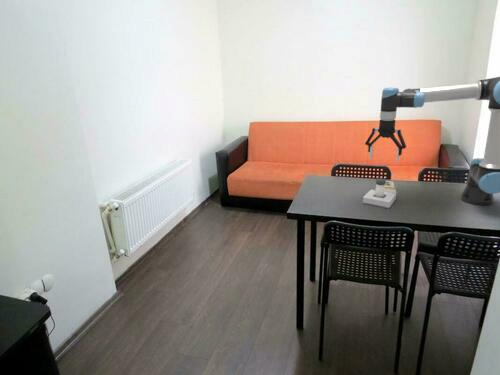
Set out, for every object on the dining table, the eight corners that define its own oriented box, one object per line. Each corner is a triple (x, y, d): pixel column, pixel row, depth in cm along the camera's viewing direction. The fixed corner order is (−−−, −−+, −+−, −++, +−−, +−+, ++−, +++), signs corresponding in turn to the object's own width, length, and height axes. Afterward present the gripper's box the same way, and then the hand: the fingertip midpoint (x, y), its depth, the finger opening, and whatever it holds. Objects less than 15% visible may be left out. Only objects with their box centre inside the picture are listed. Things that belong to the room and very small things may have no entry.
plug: (384, 199, 194) (386, 179, 189) (382, 202, 190) (384, 182, 186) (375, 198, 196) (377, 178, 192) (373, 201, 193) (375, 180, 188)
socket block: (395, 199, 195) (396, 193, 193) (388, 208, 184) (389, 202, 183) (370, 195, 202) (370, 189, 201) (362, 203, 192) (363, 197, 190)
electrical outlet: (383, 190, 198) (380, 180, 214) (382, 197, 200) (380, 186, 216) (396, 191, 196) (393, 181, 213) (396, 198, 198) (392, 187, 214)
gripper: (415, 119, 173) (410, 160, 181) (365, 116, 187) (362, 155, 194) (412, 122, 168) (407, 164, 175) (360, 119, 181) (358, 158, 189)
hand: (383, 159), depth 185 cm, fingers open, 13 cm apart
